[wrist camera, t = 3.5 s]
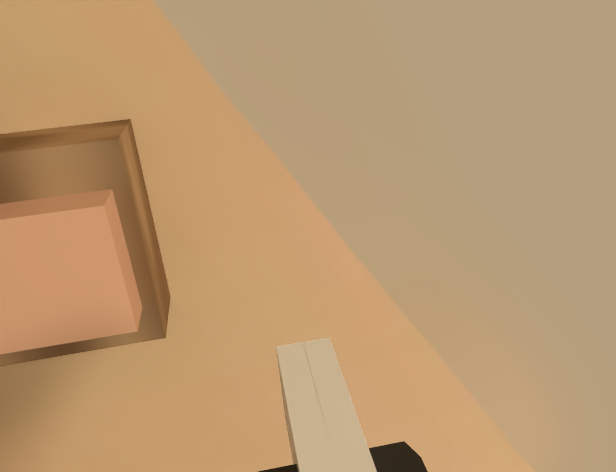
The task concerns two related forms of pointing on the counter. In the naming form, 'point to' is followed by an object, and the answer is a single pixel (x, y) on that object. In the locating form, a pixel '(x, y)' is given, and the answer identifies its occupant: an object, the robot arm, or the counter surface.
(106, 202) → the salmon orange flat block
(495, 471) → the counter surface
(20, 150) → the brown wooden flat block
